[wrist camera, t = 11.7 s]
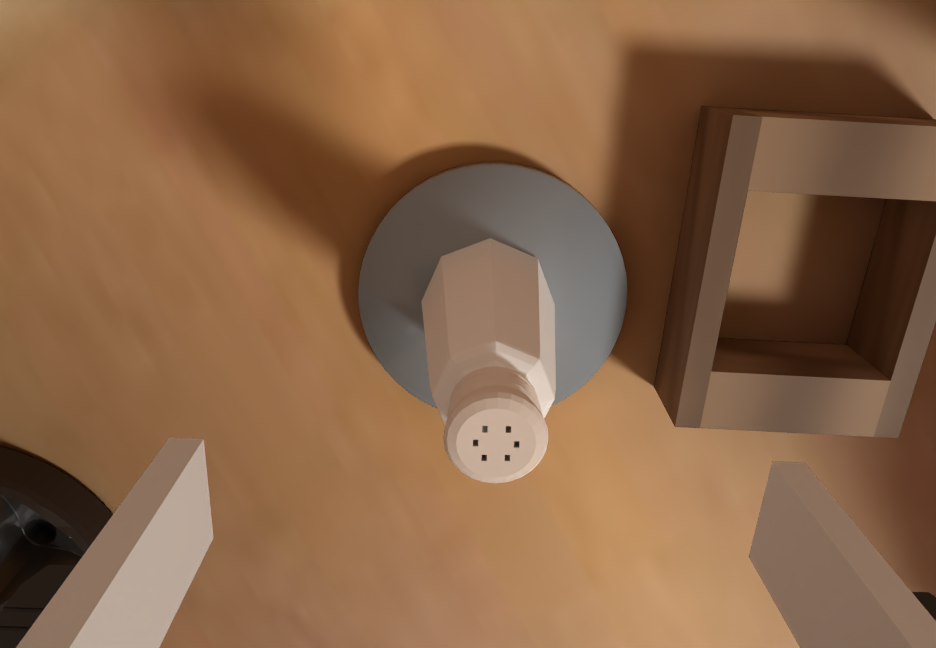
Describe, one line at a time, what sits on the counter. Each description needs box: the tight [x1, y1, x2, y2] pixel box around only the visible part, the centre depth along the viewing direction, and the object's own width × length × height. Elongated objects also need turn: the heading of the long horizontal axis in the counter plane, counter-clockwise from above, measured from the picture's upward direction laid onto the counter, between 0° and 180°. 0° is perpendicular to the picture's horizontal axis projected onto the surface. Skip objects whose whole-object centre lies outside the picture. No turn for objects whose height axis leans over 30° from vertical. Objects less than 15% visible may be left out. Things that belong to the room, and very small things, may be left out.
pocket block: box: [654, 106, 936, 438], centre depth 28 cm, size 9×12×4 cm
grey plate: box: [358, 162, 627, 409], centre depth 29 cm, size 11×11×1 cm
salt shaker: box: [421, 238, 556, 483], centre depth 24 cm, size 5×5×11 cm
